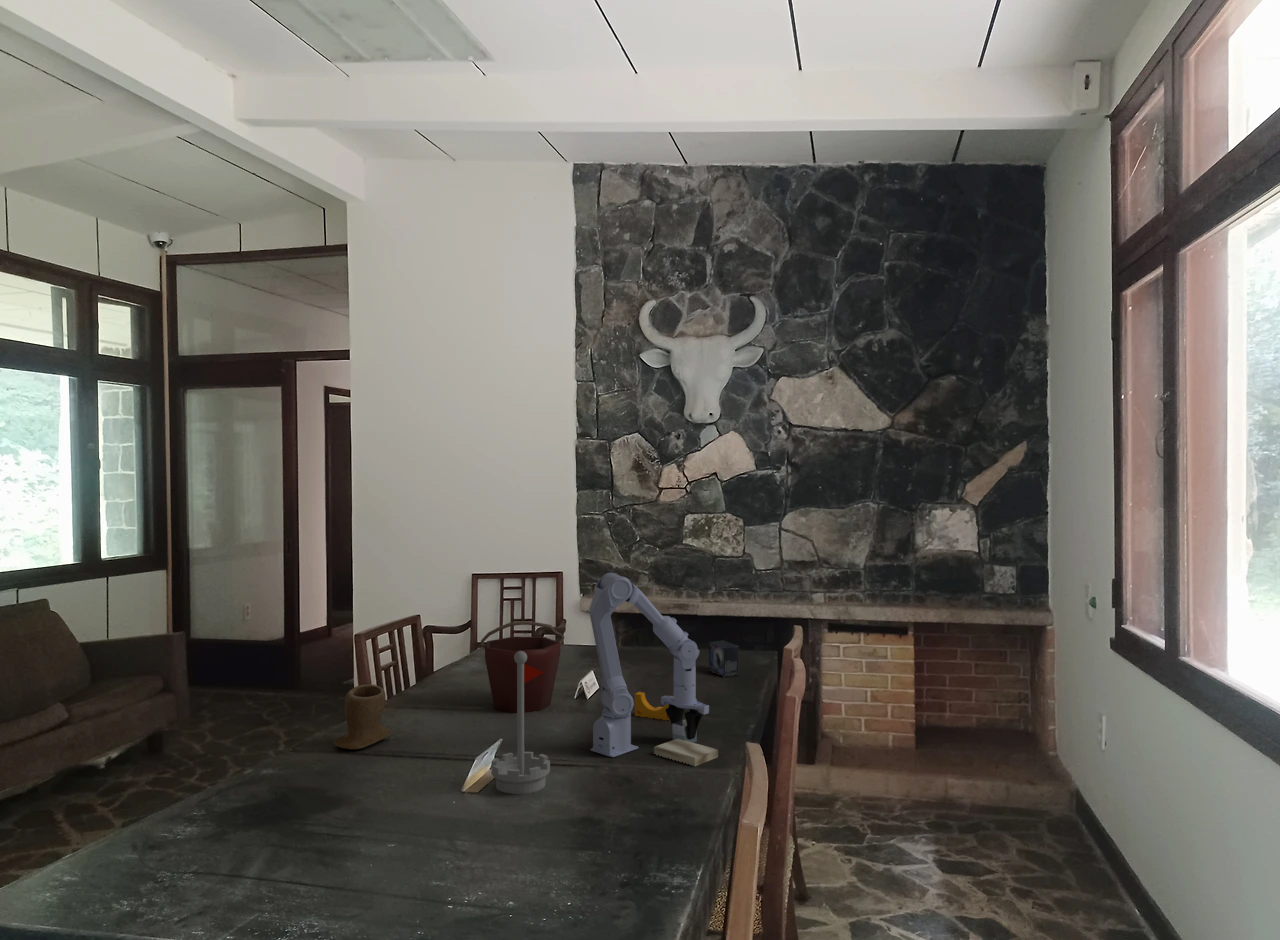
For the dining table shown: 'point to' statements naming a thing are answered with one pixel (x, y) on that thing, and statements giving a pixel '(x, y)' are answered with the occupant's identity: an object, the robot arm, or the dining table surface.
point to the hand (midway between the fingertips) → (684, 736)
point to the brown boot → (363, 717)
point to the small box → (723, 658)
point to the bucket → (539, 656)
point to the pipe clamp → (649, 708)
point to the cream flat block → (686, 752)
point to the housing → (681, 731)
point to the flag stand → (521, 747)
